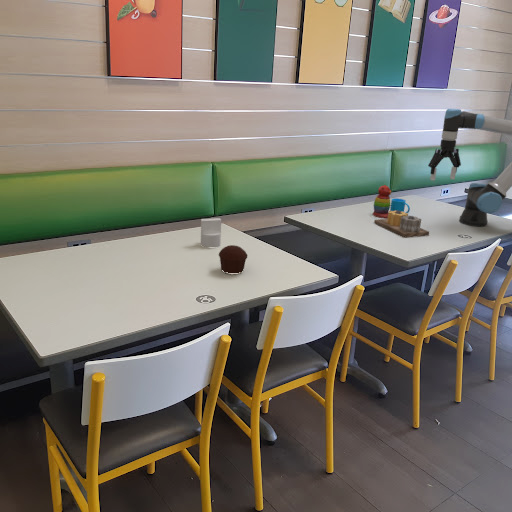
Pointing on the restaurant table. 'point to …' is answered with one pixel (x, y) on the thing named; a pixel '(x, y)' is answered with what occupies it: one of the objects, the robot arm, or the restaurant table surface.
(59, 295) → the restaurant table surface
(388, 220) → the ochre gear
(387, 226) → the gear board
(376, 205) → the stacking bear
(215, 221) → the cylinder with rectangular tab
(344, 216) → the restaurant table surface
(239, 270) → the muffin
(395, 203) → the mug
